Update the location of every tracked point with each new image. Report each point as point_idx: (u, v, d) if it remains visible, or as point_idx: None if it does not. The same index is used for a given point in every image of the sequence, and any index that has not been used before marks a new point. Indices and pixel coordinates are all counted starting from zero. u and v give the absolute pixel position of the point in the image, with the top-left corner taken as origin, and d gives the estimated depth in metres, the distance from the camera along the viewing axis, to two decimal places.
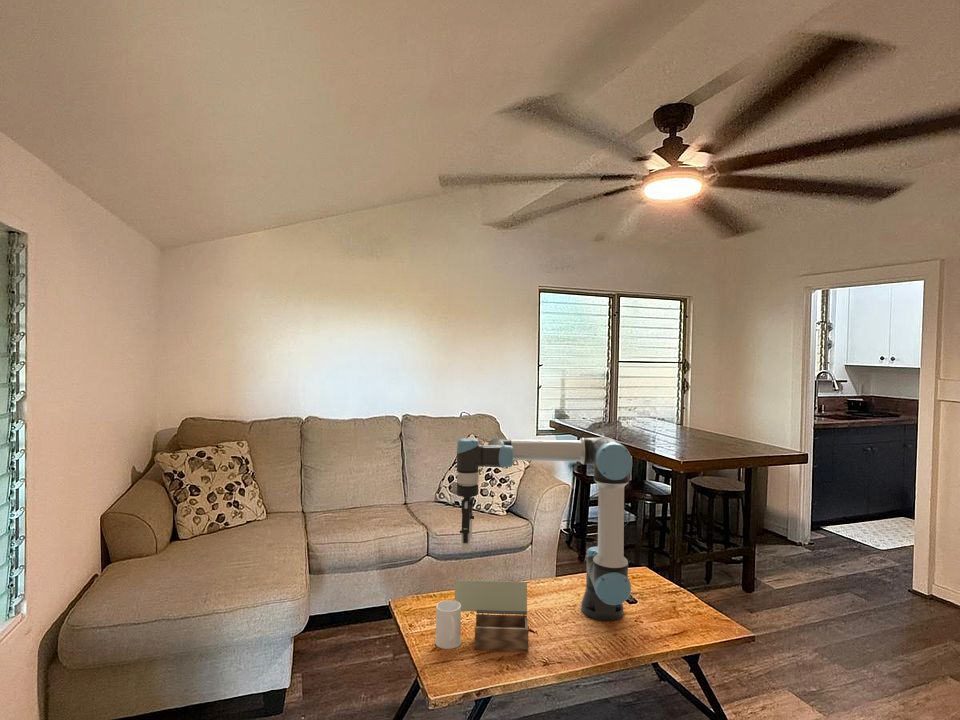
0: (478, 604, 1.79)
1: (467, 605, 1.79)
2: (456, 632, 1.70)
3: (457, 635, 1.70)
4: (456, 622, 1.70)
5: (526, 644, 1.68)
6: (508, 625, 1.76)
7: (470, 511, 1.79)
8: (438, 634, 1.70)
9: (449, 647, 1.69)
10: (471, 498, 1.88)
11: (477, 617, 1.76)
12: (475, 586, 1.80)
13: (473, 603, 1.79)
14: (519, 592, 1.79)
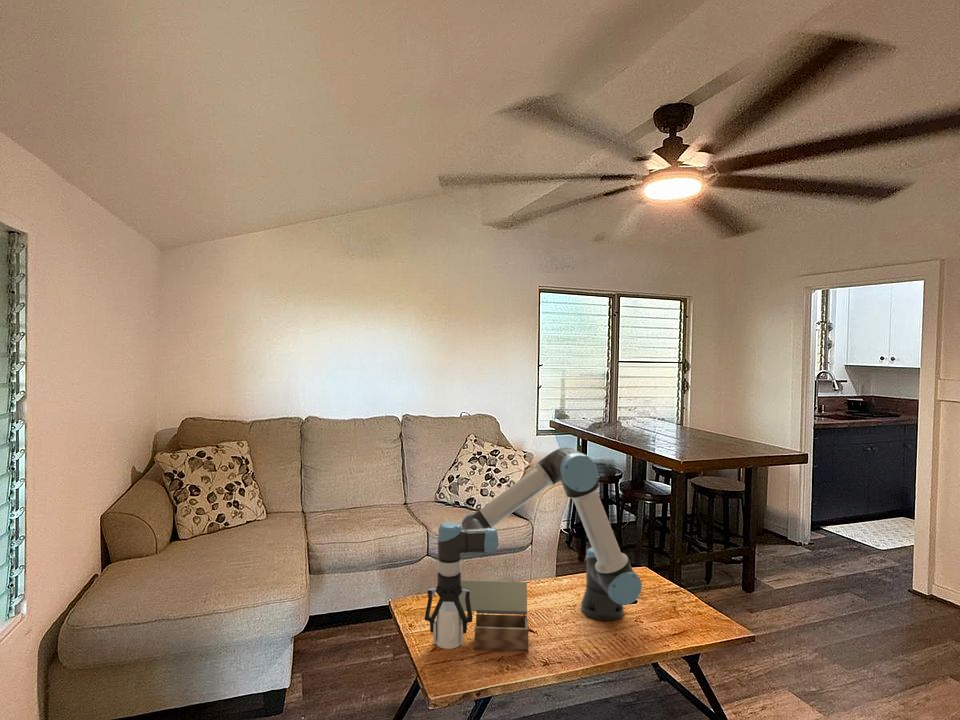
0: (478, 604, 1.79)
1: None
2: (457, 632, 1.70)
3: (458, 635, 1.70)
4: (457, 622, 1.70)
5: (526, 644, 1.68)
6: (508, 625, 1.76)
7: (438, 601, 1.70)
8: (439, 634, 1.70)
9: (450, 647, 1.69)
10: None
11: (477, 617, 1.76)
12: (475, 586, 1.80)
13: (473, 603, 1.79)
14: (519, 592, 1.79)
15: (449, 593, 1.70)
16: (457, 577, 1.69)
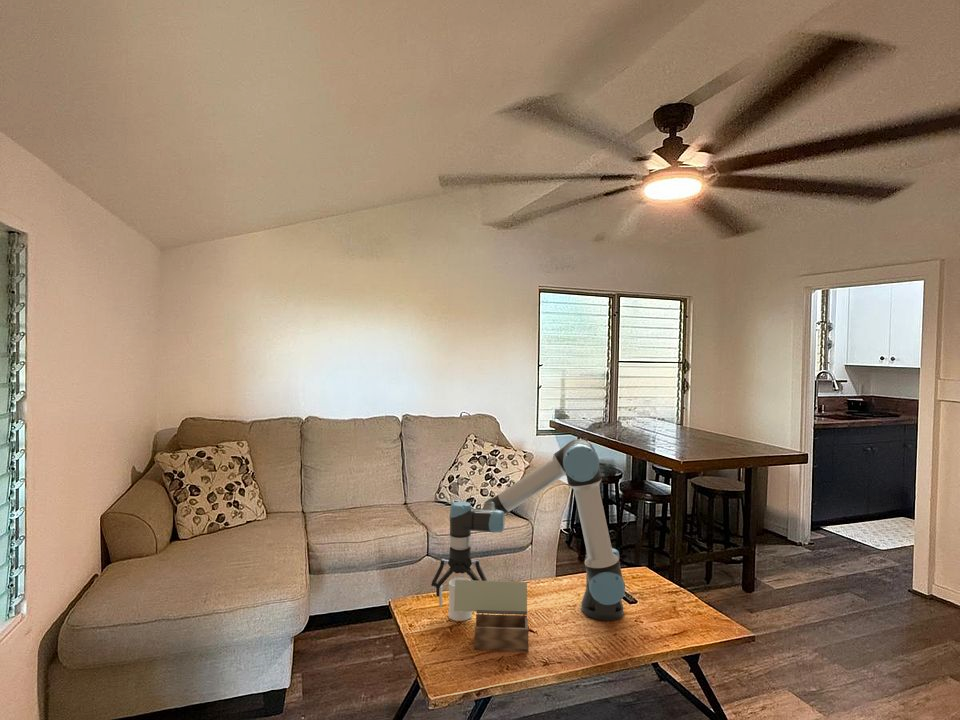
0: (478, 604, 1.79)
1: (467, 605, 1.79)
2: None
3: None
4: None
5: (526, 644, 1.68)
6: (508, 625, 1.76)
7: (448, 571, 1.88)
8: (451, 607, 1.88)
9: (461, 619, 1.86)
10: (474, 566, 1.88)
11: (477, 617, 1.76)
12: (475, 586, 1.80)
13: (473, 603, 1.79)
14: (519, 592, 1.79)
15: (460, 566, 1.88)
16: (467, 550, 1.86)
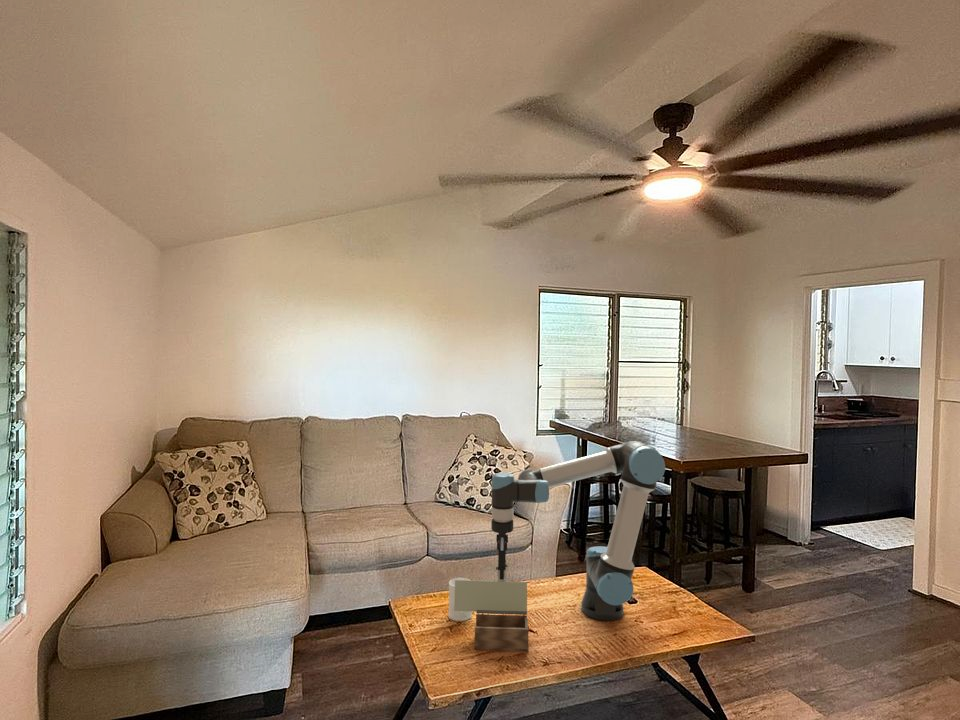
0: (478, 604, 1.79)
1: (467, 605, 1.79)
2: None
3: None
4: None
5: (526, 644, 1.68)
6: (508, 625, 1.76)
7: (505, 549, 1.80)
8: (451, 608, 1.88)
9: (461, 619, 1.86)
10: None
11: (477, 617, 1.76)
12: (475, 586, 1.80)
13: (473, 603, 1.79)
14: (519, 592, 1.79)
15: (505, 536, 1.82)
16: None
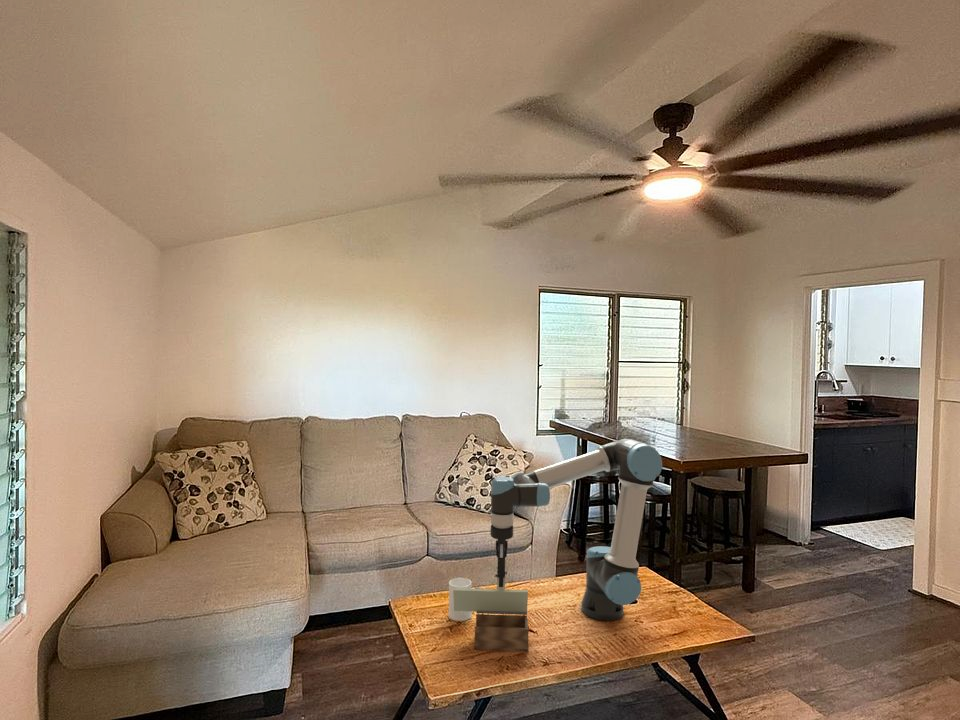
0: (478, 606, 1.77)
1: (467, 607, 1.77)
2: None
3: None
4: None
5: (526, 644, 1.68)
6: (508, 625, 1.76)
7: (505, 555, 1.74)
8: (451, 608, 1.88)
9: (461, 619, 1.86)
10: None
11: (477, 617, 1.76)
12: (474, 594, 1.75)
13: (473, 606, 1.77)
14: (519, 599, 1.75)
15: (505, 542, 1.76)
16: None
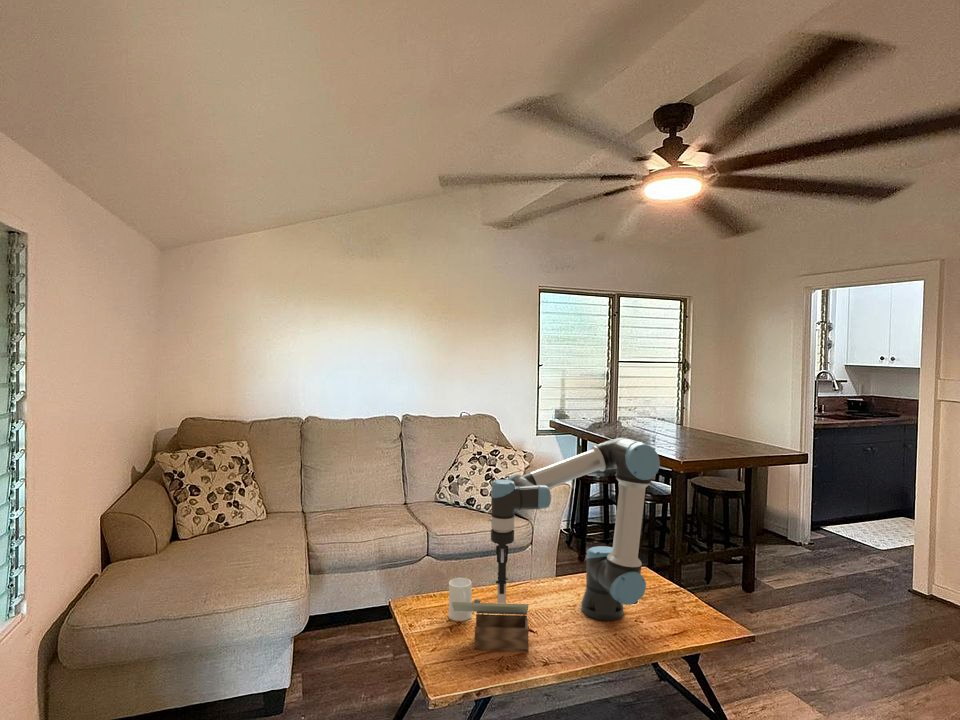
0: (478, 610, 1.76)
1: (467, 610, 1.77)
2: None
3: None
4: (467, 597, 1.88)
5: (526, 644, 1.68)
6: (508, 625, 1.76)
7: (506, 561, 1.69)
8: (451, 608, 1.88)
9: (461, 619, 1.86)
10: None
11: (477, 617, 1.76)
12: (474, 606, 1.72)
13: (473, 610, 1.76)
14: (519, 608, 1.72)
15: (505, 547, 1.71)
16: None
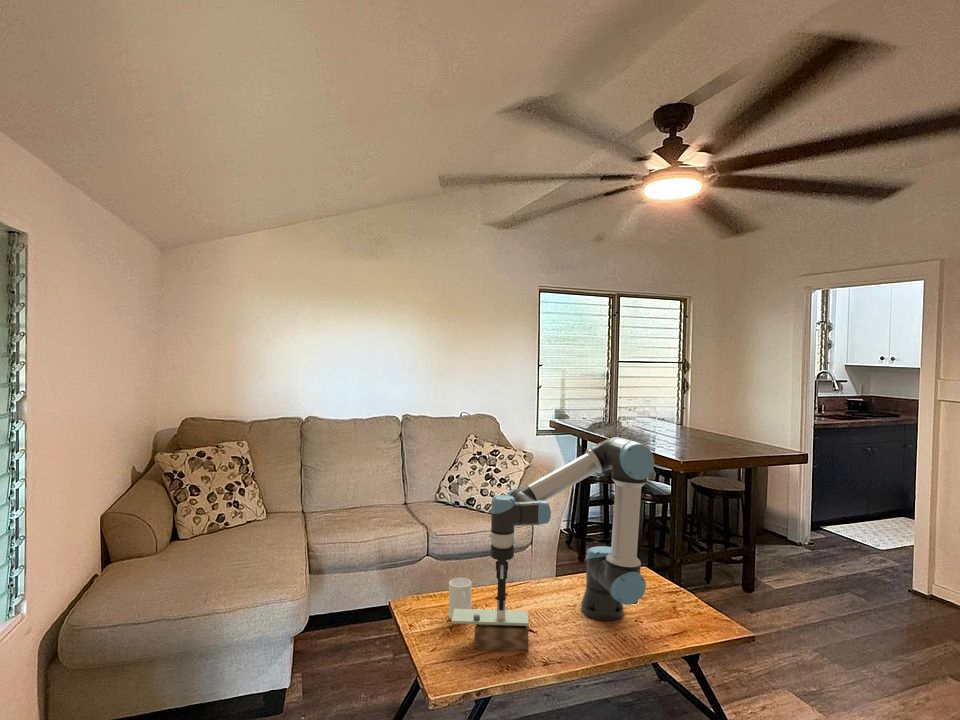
0: None
1: None
2: (467, 606, 1.88)
3: None
4: (467, 597, 1.88)
5: (526, 644, 1.68)
6: (508, 625, 1.76)
7: (505, 577, 1.69)
8: (451, 608, 1.88)
9: None
10: None
11: None
12: None
13: None
14: None
15: None
16: None
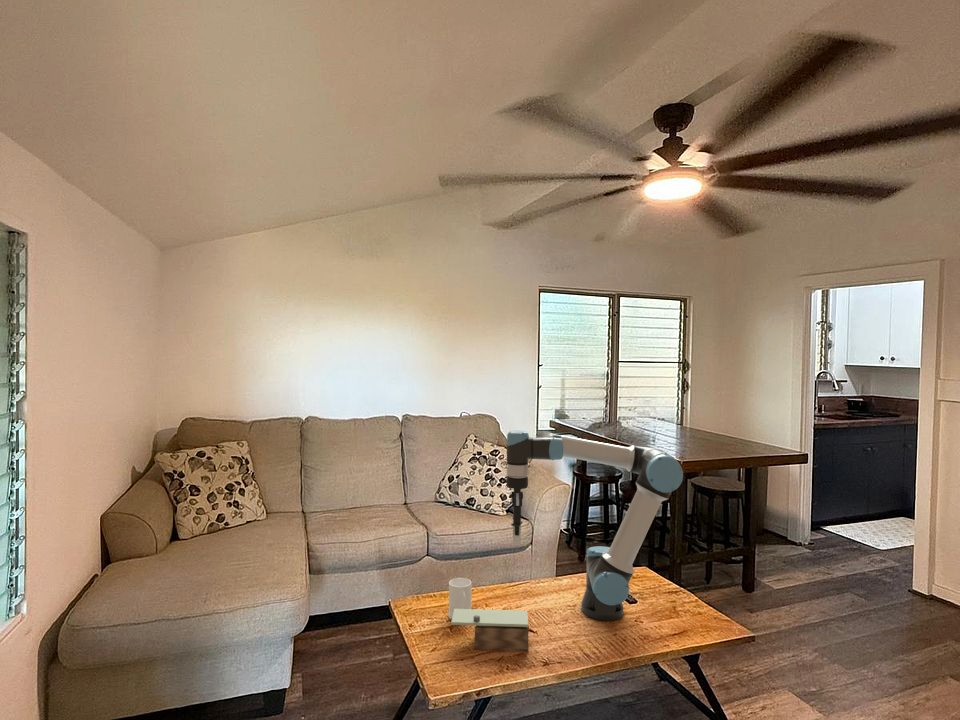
0: None
1: None
2: (467, 606, 1.88)
3: None
4: (467, 597, 1.88)
5: (526, 644, 1.68)
6: None
7: (521, 505, 1.82)
8: (451, 608, 1.88)
9: None
10: None
11: None
12: None
13: None
14: None
15: None
16: None
